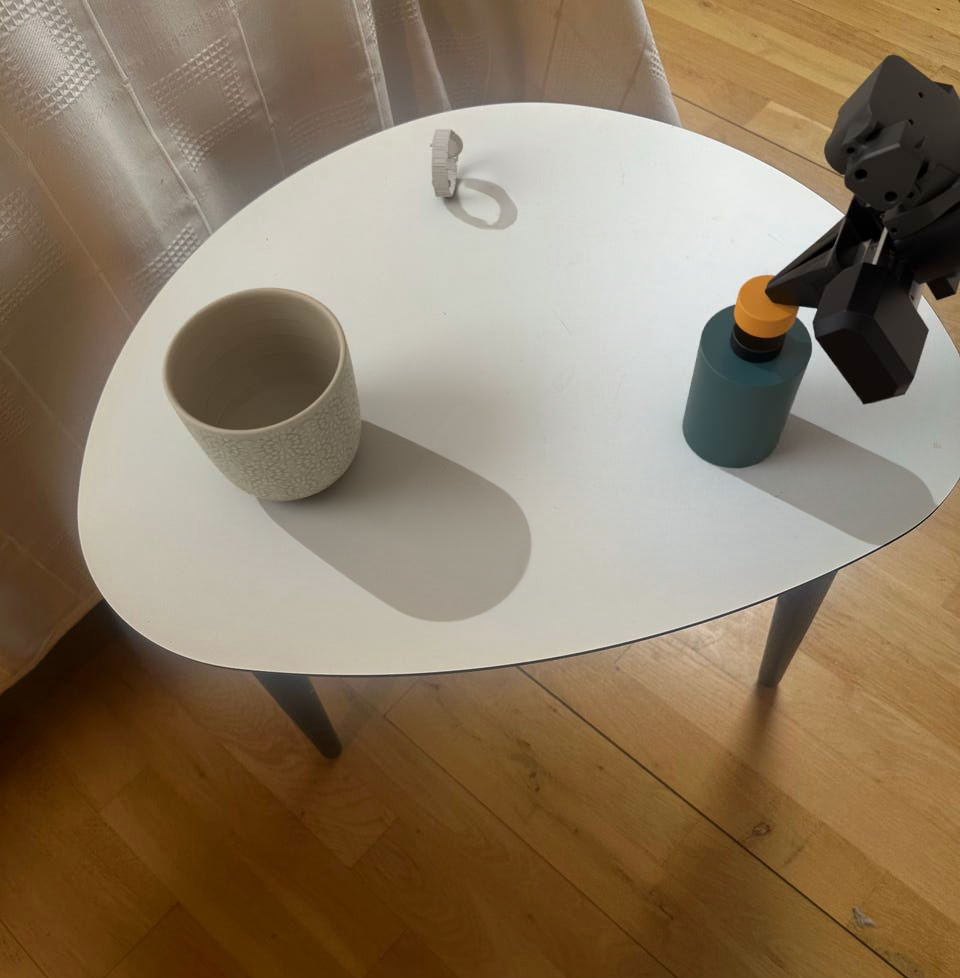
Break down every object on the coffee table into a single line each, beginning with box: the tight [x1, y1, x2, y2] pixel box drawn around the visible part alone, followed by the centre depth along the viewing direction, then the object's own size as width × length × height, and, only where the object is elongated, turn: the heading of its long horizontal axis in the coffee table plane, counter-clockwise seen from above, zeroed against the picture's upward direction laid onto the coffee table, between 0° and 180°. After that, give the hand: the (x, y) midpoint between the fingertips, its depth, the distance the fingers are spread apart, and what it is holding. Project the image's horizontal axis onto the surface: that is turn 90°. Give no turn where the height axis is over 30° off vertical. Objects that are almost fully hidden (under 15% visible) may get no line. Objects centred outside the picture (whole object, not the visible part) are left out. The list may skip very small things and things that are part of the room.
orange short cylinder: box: [734, 274, 800, 338], centre depth 56 cm, size 4×4×2 cm
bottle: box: [681, 303, 813, 469], centre depth 63 cm, size 7×7×10 cm
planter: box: [161, 287, 362, 502], centre depth 64 cm, size 12×12×11 cm
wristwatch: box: [429, 128, 464, 198], centre depth 78 cm, size 3×5×5 cm, turn 173°
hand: (769, 292), depth 55 cm, fingers closed, pressing on orange short cylinder
